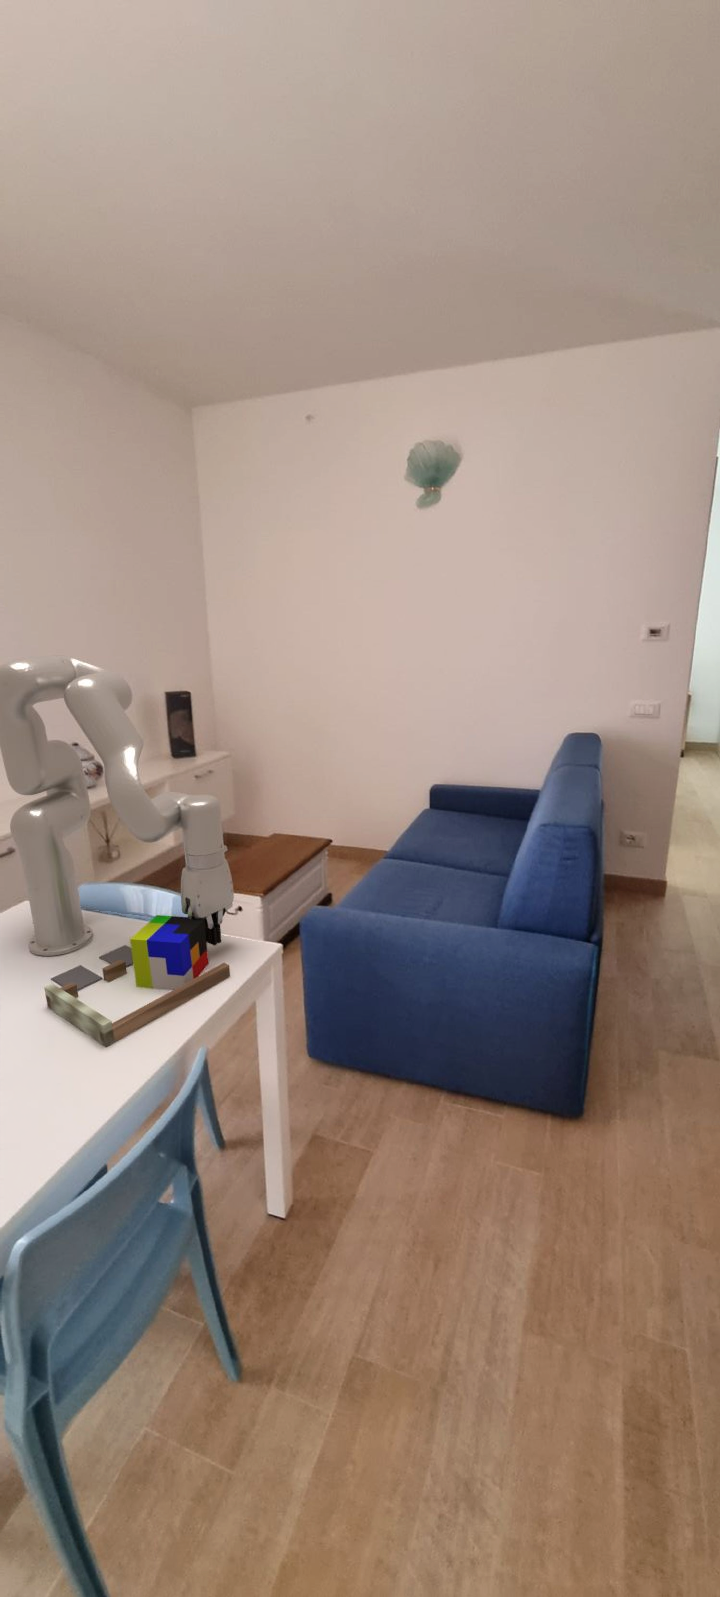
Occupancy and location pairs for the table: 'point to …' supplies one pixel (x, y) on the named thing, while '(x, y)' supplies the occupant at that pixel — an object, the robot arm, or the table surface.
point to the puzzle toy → (169, 952)
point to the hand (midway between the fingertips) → (213, 942)
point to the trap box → (111, 1032)
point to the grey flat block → (77, 977)
